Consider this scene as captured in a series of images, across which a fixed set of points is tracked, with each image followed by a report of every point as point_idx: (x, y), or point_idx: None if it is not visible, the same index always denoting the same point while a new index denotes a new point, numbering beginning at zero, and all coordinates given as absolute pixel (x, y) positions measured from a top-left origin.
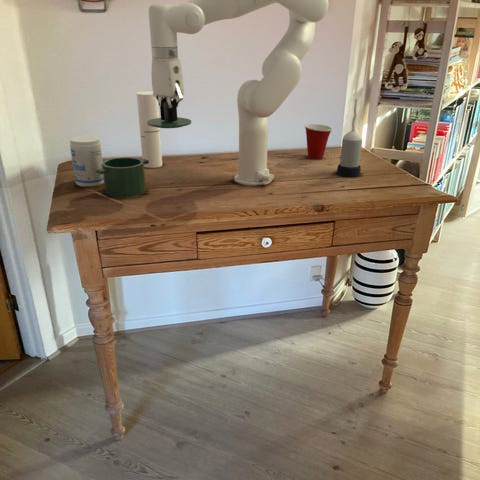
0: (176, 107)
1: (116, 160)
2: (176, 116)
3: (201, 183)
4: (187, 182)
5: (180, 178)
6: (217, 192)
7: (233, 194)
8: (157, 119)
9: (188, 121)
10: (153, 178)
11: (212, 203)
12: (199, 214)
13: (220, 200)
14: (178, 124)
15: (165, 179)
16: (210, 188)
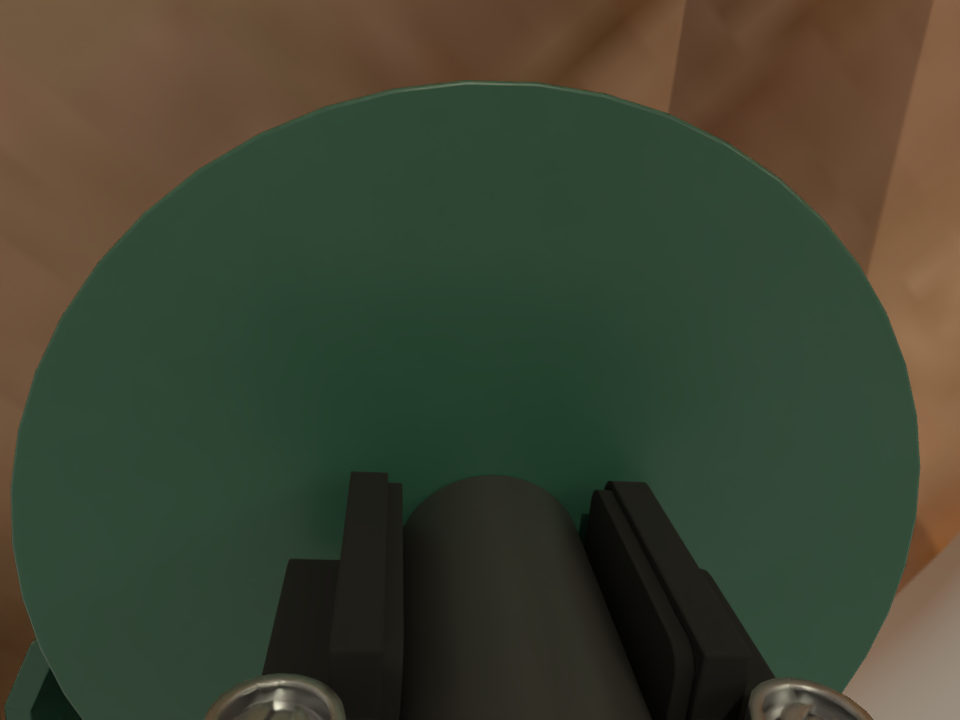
0: (741, 650)
1: (41, 694)
2: (713, 583)
3: (534, 6)
4: (414, 72)
5: (267, 19)
6: (802, 113)
7: (938, 64)
8: (155, 595)
9: (817, 312)
10: (84, 197)
11: (908, 332)
12: (946, 525)
13: (923, 247)
14: (826, 619)
15: (190, 143)
16: (692, 68)
